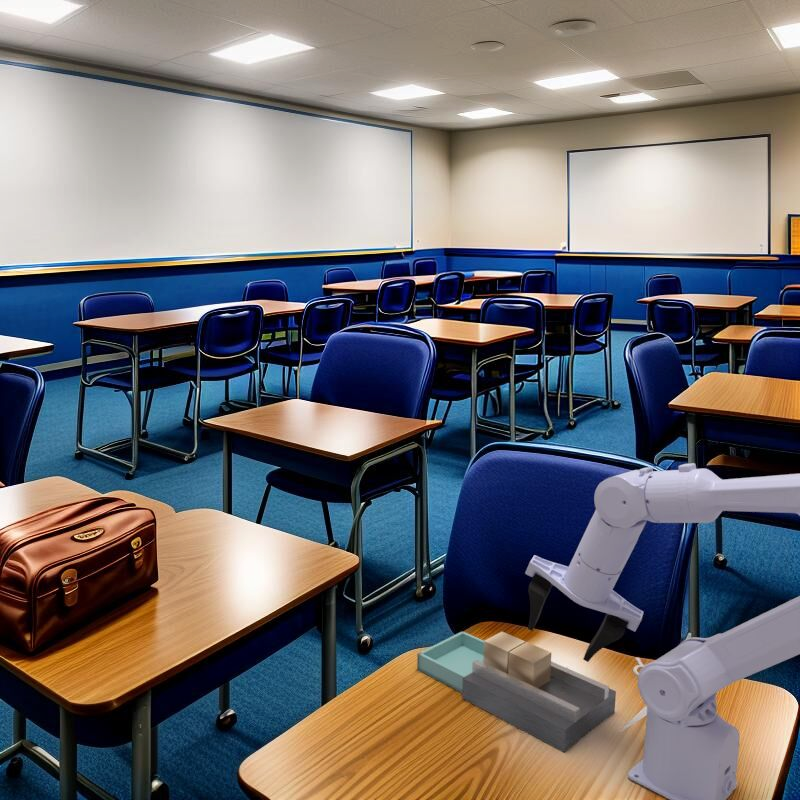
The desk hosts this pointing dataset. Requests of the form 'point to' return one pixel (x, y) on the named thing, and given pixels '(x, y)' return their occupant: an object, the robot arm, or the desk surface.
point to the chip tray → (451, 659)
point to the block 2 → (530, 664)
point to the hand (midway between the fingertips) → (559, 640)
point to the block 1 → (500, 650)
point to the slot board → (542, 702)
